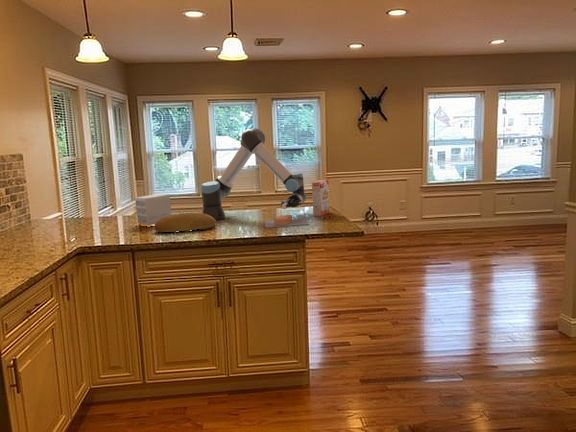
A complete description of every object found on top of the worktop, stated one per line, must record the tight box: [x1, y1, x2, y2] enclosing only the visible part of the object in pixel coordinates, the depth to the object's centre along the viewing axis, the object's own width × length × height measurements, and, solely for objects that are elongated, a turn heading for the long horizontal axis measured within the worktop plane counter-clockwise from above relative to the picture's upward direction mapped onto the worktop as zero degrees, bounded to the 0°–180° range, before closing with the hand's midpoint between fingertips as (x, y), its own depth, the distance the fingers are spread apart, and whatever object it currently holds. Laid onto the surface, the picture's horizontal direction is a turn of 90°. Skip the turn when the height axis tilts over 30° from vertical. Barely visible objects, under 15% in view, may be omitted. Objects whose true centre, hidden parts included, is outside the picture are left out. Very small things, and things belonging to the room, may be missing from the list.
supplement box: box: [134, 193, 173, 225], centre depth 295 cm, size 17×13×18 cm
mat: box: [264, 217, 310, 229], centre depth 270 cm, size 24×19×1 cm
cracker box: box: [311, 179, 331, 217], centre depth 290 cm, size 14×6×21 cm, turn 154°
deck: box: [273, 214, 293, 225], centre depth 268 cm, size 4×7×12 cm
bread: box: [153, 212, 217, 233], centre depth 271 cm, size 18×35×10 cm, turn 95°
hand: (283, 206), depth 268 cm, fingers closed
